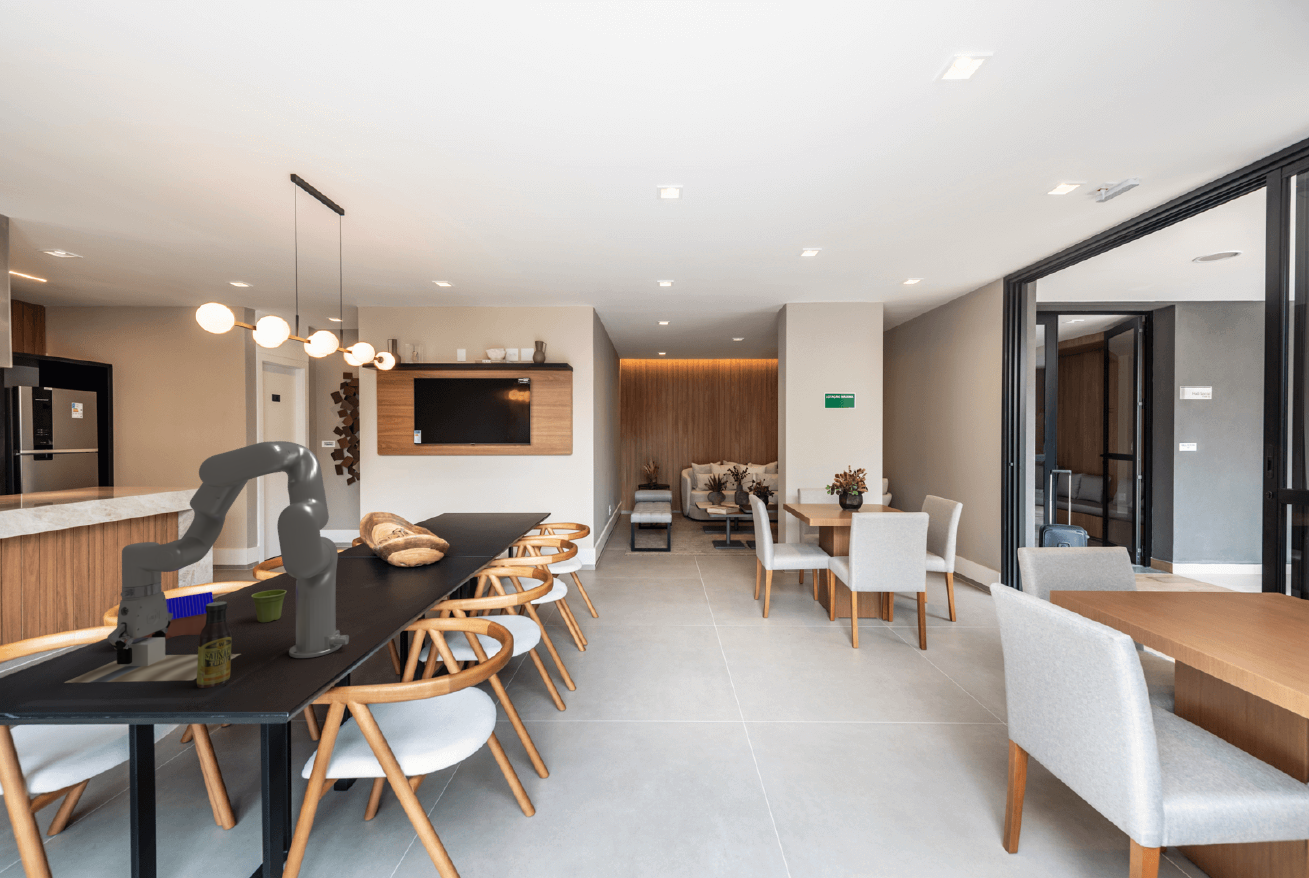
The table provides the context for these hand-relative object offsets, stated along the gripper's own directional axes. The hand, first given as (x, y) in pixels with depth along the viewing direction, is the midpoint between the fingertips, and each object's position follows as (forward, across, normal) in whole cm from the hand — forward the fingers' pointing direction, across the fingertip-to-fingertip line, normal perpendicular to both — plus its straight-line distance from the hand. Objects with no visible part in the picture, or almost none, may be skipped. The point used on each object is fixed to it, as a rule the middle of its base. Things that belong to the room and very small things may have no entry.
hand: (142, 656), depth 140 cm
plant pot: (+3, +36, -8) cm, 37 cm away
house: (+3, +22, +12) cm, 26 cm away
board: (+3, -4, -7) cm, 8 cm away
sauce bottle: (+3, -12, -28) cm, 31 cm away
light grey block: (+2, 0, 0) cm, 2 cm away
